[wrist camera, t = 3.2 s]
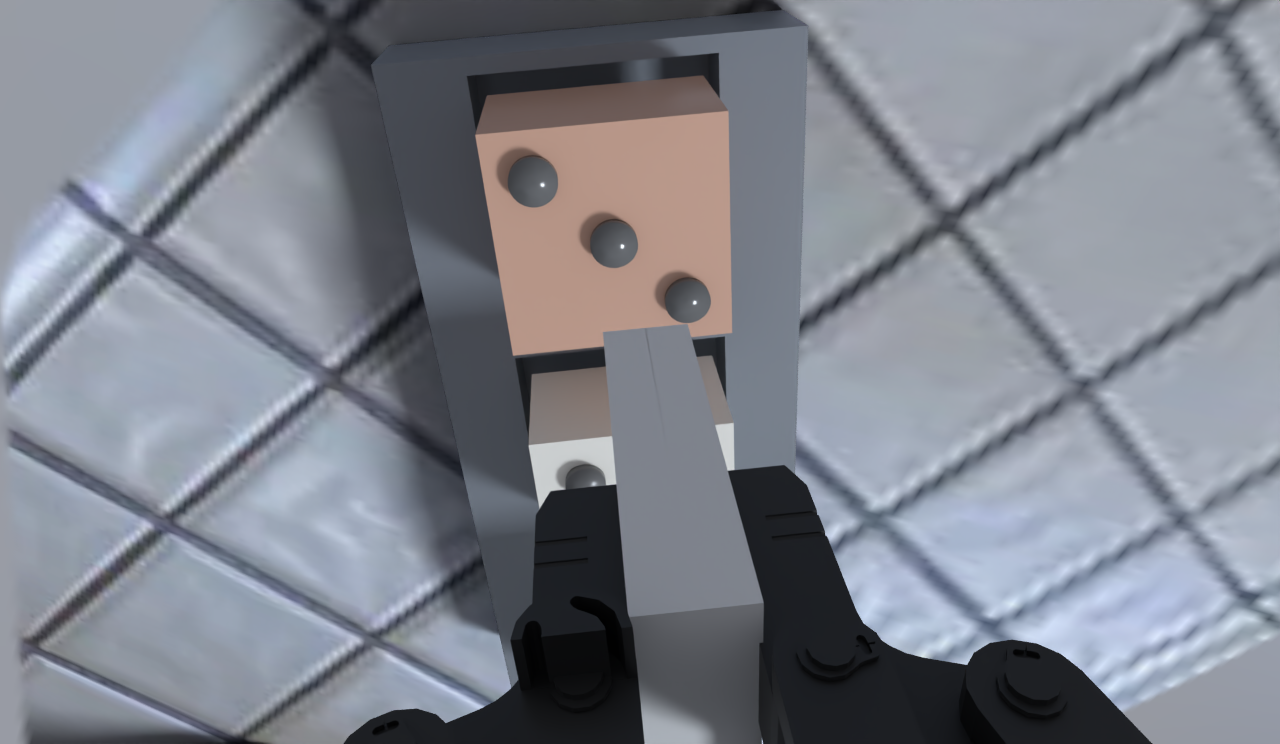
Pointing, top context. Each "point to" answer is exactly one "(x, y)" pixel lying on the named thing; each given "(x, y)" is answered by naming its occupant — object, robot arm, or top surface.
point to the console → (467, 266)
